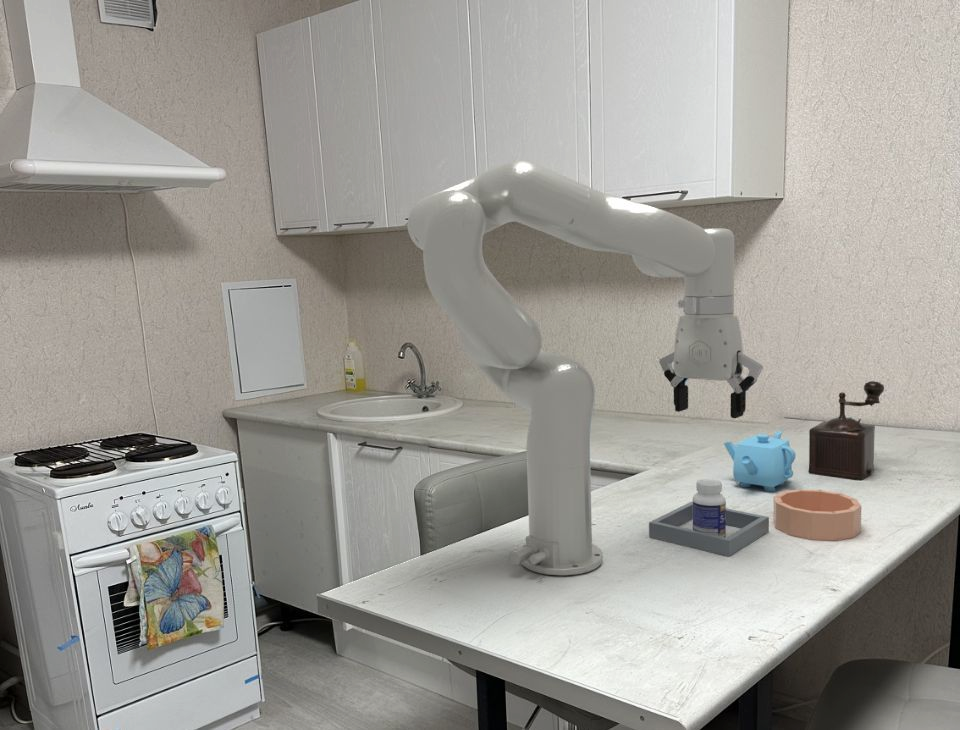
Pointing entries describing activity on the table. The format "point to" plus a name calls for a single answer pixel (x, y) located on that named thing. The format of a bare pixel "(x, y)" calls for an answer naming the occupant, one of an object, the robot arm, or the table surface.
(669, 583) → the table surface
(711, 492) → the pill bottle
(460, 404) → the table surface
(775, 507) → the bowl
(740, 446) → the teapot
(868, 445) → the coffee grinder
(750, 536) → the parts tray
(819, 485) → the table surface
